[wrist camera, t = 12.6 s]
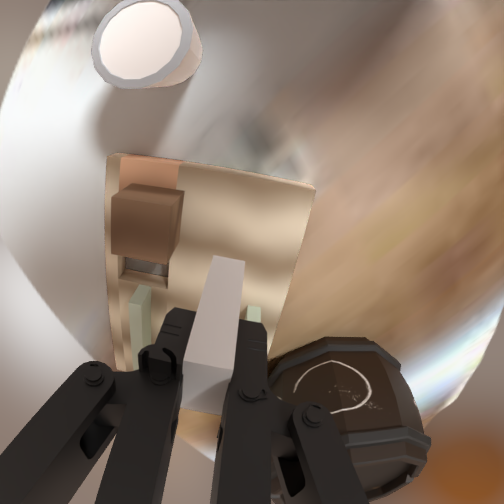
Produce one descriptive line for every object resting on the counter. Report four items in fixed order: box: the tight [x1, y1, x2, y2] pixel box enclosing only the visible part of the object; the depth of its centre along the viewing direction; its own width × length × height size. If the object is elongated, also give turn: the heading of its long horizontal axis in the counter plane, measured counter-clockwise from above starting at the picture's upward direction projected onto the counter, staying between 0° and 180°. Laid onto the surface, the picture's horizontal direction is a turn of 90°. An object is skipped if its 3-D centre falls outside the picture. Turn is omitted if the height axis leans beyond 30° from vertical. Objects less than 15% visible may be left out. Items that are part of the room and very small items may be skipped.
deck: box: [105, 153, 316, 372], centre depth 29 cm, size 25×17×2 cm
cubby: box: [128, 284, 261, 370], centre depth 29 cm, size 14×12×3 cm
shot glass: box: [91, 0, 203, 89], centre depth 17 cm, size 7×7×7 cm
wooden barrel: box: [267, 337, 431, 504], centre depth 29 cm, size 18×18×16 cm
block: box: [111, 183, 185, 265], centre depth 23 cm, size 4×4×4 cm
